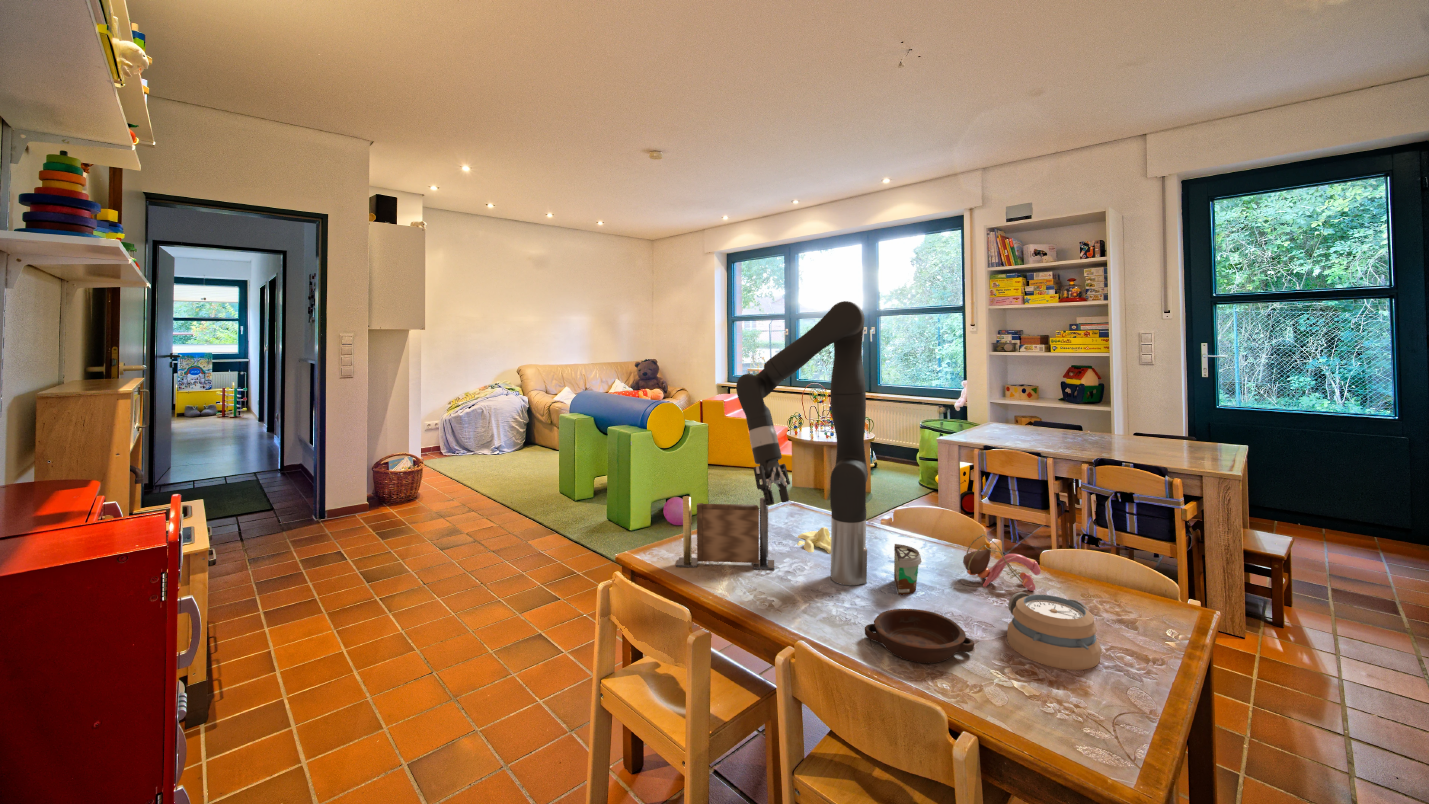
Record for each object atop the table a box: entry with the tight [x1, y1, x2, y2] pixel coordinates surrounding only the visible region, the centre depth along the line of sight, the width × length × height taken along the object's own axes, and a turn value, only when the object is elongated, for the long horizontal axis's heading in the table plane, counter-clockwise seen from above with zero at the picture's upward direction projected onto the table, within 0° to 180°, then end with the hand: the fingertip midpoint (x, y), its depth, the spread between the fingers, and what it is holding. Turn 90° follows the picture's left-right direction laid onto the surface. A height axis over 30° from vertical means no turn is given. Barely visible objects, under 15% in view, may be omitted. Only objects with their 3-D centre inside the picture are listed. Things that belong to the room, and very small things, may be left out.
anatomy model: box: [962, 533, 1042, 592], centre depth 154 cm, size 11×15×17 cm
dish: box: [864, 608, 975, 664], centre depth 122 cm, size 18×22×5 cm
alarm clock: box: [1006, 591, 1102, 671], centre depth 124 cm, size 17×9×23 cm
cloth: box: [796, 526, 831, 555], centre depth 185 cm, size 22×19×6 cm
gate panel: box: [696, 502, 760, 564], centre depth 168 cm, size 18×2×17 cm, turn 85°
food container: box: [893, 543, 922, 596], centre depth 151 cm, size 12×6×10 cm, turn 168°
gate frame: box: [675, 495, 775, 571], centre depth 168 cm, size 28×6×20 cm, turn 85°
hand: (778, 503), depth 155 cm, fingers open, 8 cm apart
